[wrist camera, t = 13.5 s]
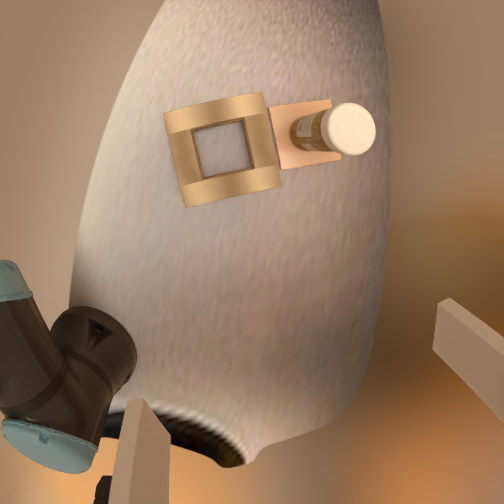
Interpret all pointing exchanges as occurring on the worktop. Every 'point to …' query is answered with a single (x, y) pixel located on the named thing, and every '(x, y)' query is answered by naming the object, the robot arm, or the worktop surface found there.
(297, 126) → the sprinkles bottle
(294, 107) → the terracotta tile
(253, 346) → the worktop surface
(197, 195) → the socket block
